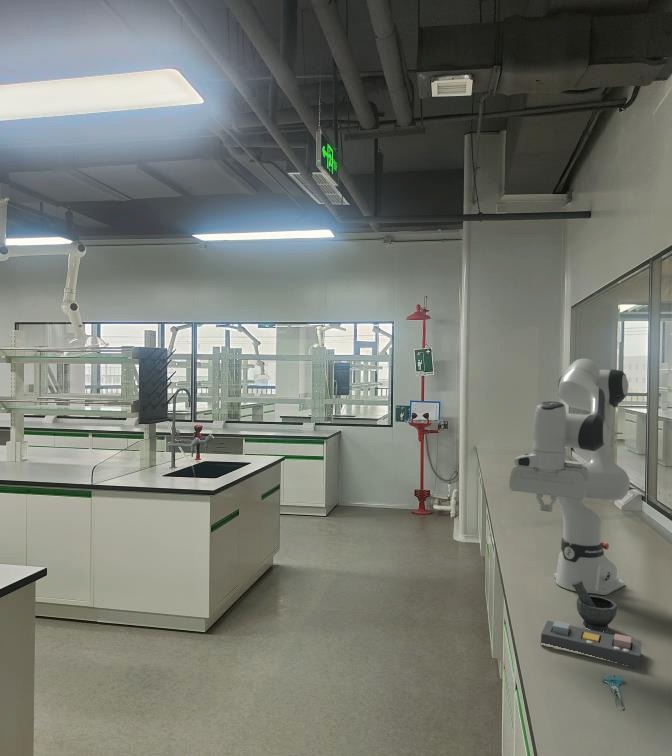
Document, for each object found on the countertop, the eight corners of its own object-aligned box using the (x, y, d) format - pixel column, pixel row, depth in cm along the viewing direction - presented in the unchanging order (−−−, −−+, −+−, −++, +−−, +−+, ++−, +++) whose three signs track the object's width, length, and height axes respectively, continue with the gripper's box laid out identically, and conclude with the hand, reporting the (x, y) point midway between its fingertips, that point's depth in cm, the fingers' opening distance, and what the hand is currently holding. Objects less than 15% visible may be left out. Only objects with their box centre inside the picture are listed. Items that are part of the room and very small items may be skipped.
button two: (613, 648, 150) (613, 639, 150) (614, 642, 153) (614, 633, 153) (629, 651, 149) (630, 642, 149) (630, 646, 152) (631, 637, 152)
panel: (540, 645, 156) (541, 632, 155) (546, 631, 164) (547, 619, 163) (639, 668, 145) (640, 655, 145) (640, 653, 153) (641, 640, 153)
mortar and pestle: (614, 624, 170) (616, 580, 170) (616, 638, 161) (619, 592, 161) (570, 616, 174) (572, 573, 174) (569, 630, 165) (572, 585, 165)
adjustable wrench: (600, 672, 142) (624, 676, 140) (600, 676, 142) (624, 680, 140) (608, 704, 128) (635, 709, 127) (608, 709, 128) (634, 714, 127)
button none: (552, 634, 157) (552, 625, 157) (554, 629, 160) (554, 620, 160) (567, 637, 155) (567, 628, 155) (569, 632, 158) (569, 623, 158)
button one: (581, 646, 154) (582, 637, 154) (583, 640, 157) (584, 631, 157) (597, 649, 152) (598, 640, 152) (599, 644, 155) (599, 635, 155)
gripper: (590, 463, 171) (587, 514, 171) (513, 455, 181) (511, 503, 181) (587, 466, 165) (584, 518, 166) (508, 458, 175) (506, 507, 175)
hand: (546, 510), depth 173 cm, fingers closed
